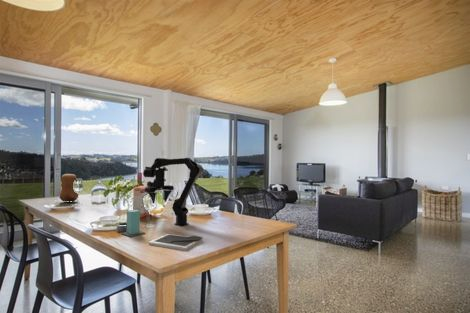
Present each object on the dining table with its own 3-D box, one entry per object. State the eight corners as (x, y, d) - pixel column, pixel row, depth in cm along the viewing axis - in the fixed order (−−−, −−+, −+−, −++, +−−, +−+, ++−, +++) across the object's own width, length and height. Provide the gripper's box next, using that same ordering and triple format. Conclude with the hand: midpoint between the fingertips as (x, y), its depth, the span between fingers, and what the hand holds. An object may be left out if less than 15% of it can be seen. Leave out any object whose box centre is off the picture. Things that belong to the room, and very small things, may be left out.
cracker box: (140, 218, 188) (140, 187, 188) (132, 218, 189) (132, 187, 189) (150, 214, 202) (151, 185, 201) (143, 214, 203) (143, 185, 203)
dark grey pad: (145, 233, 153) (145, 232, 153) (130, 237, 146) (130, 236, 146) (135, 230, 158) (135, 229, 158) (120, 234, 151) (120, 233, 151)
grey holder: (132, 226, 167) (132, 221, 167) (134, 230, 159) (134, 225, 159) (116, 228, 163) (116, 223, 163) (117, 232, 155) (117, 226, 155)
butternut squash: (73, 200, 254) (73, 173, 254) (80, 202, 247) (81, 173, 246) (56, 202, 243) (57, 173, 243) (63, 204, 235) (64, 174, 235)
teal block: (135, 231, 156) (135, 209, 156) (139, 232, 152) (140, 210, 152) (126, 232, 152) (126, 210, 152) (130, 234, 149) (131, 212, 149)
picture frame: (202, 242, 142) (168, 237, 149) (202, 237, 141) (168, 232, 149) (185, 252, 127) (148, 246, 135) (185, 246, 127) (148, 240, 135)
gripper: (163, 176, 190) (163, 199, 190) (139, 177, 175) (139, 202, 175) (174, 177, 183) (174, 201, 183) (150, 178, 168) (150, 204, 168)
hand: (159, 202), depth 178 cm, fingers open, 9 cm apart
